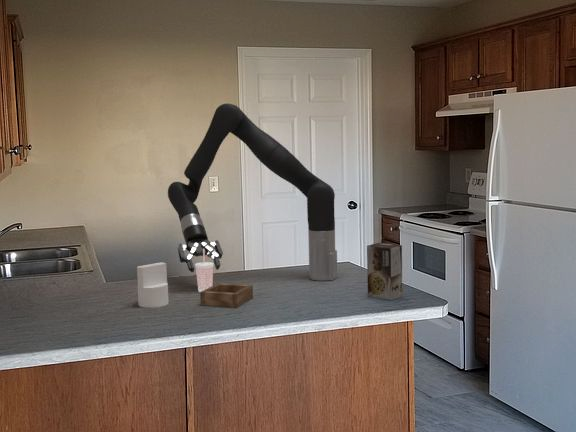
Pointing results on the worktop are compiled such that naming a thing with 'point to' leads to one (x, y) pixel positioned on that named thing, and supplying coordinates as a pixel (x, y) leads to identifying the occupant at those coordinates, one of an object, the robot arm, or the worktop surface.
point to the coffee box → (384, 271)
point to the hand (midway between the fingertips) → (205, 269)
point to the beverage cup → (204, 274)
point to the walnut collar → (226, 295)
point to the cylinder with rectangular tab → (152, 285)
